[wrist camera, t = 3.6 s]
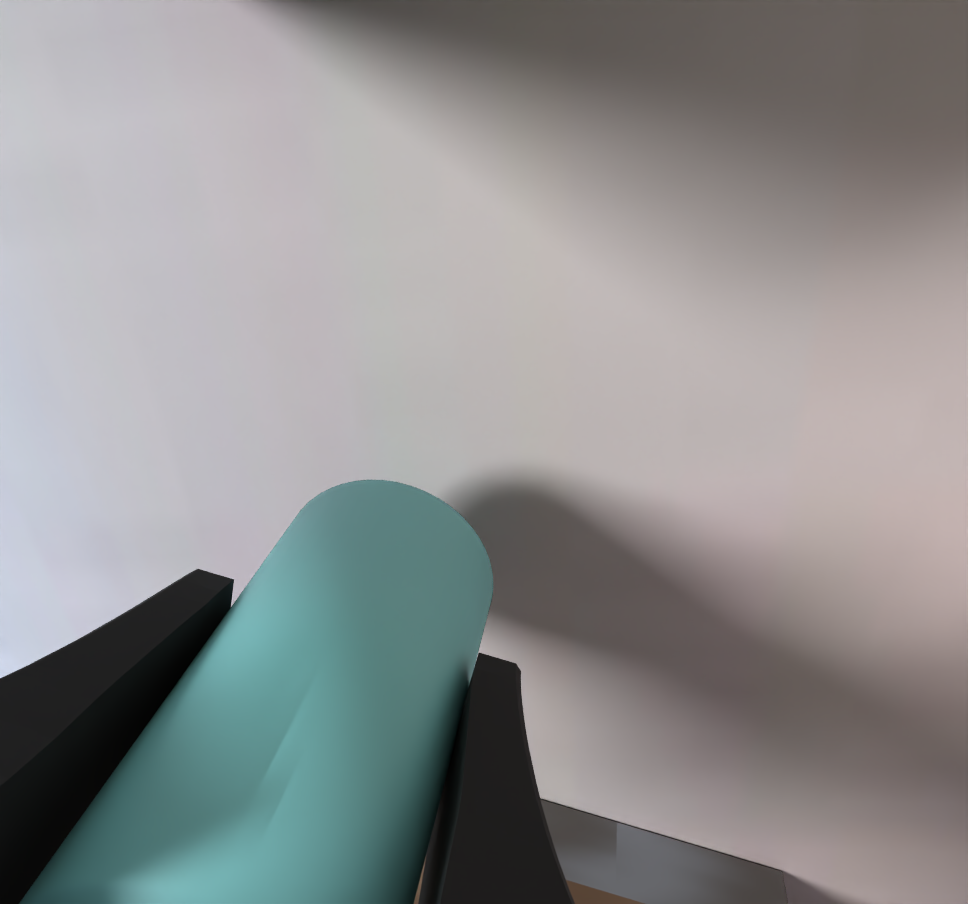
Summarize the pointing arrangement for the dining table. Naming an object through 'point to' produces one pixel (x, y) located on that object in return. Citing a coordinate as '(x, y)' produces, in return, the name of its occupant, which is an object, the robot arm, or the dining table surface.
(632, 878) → the socket box
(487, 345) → the dining table surface
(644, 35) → the dining table surface
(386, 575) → the peg
